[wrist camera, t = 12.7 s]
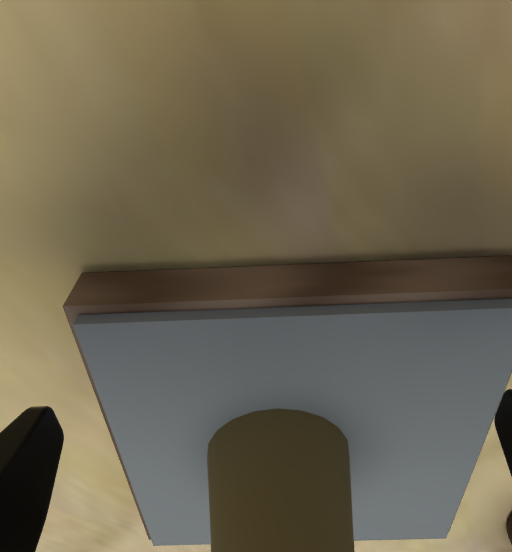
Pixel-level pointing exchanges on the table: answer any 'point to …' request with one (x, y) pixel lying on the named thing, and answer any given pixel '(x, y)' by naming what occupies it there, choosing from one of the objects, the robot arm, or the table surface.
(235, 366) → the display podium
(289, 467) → the brown rounded upright piece
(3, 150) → the table surface
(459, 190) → the table surface
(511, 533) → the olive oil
